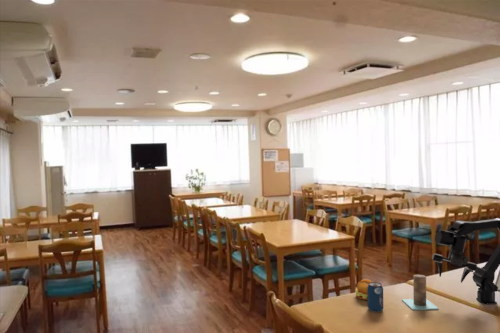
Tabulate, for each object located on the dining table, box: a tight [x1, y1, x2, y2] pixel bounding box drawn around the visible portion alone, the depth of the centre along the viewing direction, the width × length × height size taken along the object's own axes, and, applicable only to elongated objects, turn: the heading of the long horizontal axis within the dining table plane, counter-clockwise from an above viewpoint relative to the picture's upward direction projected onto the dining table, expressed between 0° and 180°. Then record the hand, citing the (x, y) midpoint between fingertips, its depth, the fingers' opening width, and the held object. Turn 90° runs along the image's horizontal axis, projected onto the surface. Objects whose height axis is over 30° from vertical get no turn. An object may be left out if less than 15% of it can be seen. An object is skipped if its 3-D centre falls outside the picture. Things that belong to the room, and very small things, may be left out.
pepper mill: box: [412, 274, 427, 306], centre depth 185 cm, size 6×6×13 cm
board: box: [401, 298, 439, 311], centre depth 186 cm, size 12×12×1 cm
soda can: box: [367, 281, 384, 313], centre depth 181 cm, size 7×7×12 cm
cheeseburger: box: [355, 278, 373, 301], centre depth 196 cm, size 10×11×10 cm
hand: (450, 279), depth 187 cm, fingers open, 9 cm apart
